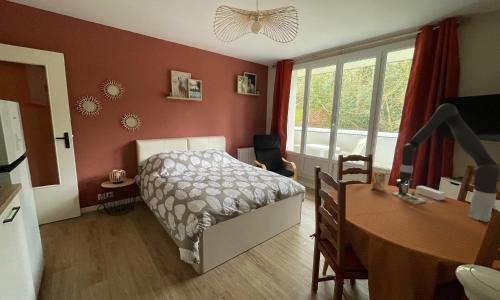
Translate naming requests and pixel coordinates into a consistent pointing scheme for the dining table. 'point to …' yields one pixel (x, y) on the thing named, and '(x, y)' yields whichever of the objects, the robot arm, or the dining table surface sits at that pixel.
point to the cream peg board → (409, 198)
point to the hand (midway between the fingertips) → (403, 192)
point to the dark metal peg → (404, 190)
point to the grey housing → (430, 192)
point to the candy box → (378, 180)
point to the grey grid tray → (420, 197)
